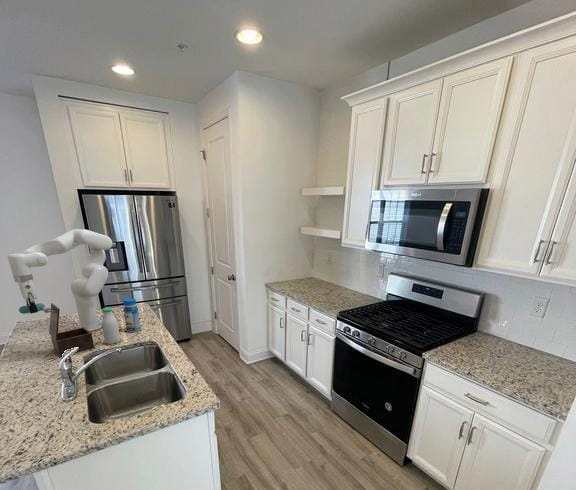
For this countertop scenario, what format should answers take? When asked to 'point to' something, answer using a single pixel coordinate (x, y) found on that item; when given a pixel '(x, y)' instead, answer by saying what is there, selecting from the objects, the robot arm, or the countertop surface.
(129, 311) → the beverage bottle
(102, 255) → the robot arm
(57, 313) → the bin lid
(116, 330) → the milk bottle
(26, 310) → the teal cylinder
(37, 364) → the countertop surface
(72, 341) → the bin
